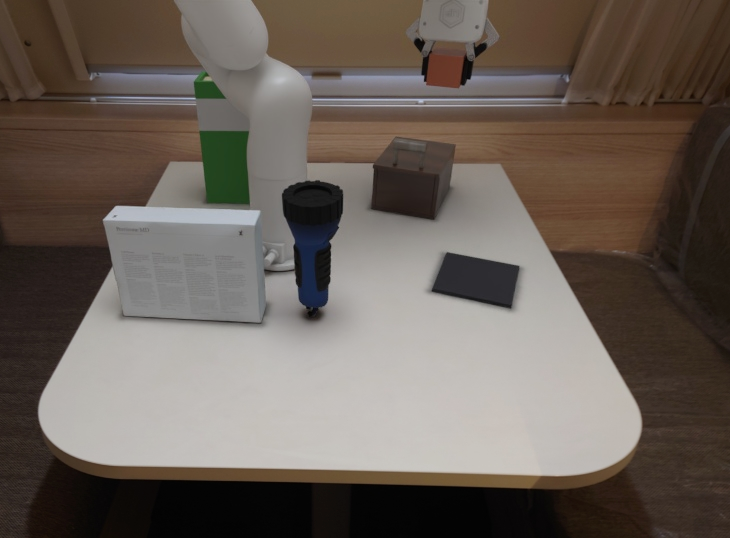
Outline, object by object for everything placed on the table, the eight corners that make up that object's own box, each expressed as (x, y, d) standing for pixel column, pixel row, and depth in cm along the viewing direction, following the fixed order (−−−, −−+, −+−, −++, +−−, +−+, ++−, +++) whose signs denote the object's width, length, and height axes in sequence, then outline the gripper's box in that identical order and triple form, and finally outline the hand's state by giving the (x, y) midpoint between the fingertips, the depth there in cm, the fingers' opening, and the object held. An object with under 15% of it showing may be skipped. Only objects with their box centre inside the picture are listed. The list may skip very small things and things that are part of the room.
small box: (458, 88, 96) (463, 56, 93) (425, 85, 97) (429, 54, 94) (463, 80, 100) (468, 50, 97) (431, 77, 102) (435, 47, 99)
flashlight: (285, 333, 82) (281, 206, 71) (285, 301, 89) (282, 180, 77) (341, 332, 82) (346, 205, 71) (337, 300, 89) (341, 179, 77)
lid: (439, 178, 105) (443, 148, 102) (372, 168, 109) (374, 139, 106) (455, 147, 117) (459, 120, 114) (395, 140, 121) (397, 113, 118)
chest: (434, 219, 110) (439, 176, 105) (371, 208, 114) (373, 167, 110) (449, 188, 122) (455, 148, 117) (391, 179, 126) (395, 140, 121)
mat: (510, 308, 87) (511, 305, 86) (431, 291, 91) (432, 288, 90) (518, 268, 96) (519, 265, 95) (446, 254, 100) (446, 251, 99)
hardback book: (296, 188, 123) (293, 71, 109) (293, 204, 116) (291, 82, 103) (213, 187, 123) (201, 71, 110) (207, 202, 117) (193, 81, 104)
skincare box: (267, 302, 88) (262, 209, 79) (261, 324, 84) (255, 227, 75) (134, 295, 90) (114, 203, 81) (121, 316, 86) (99, 221, 77)
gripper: (400, -40, 88) (390, 82, 98) (518, -36, 83) (494, 92, 93) (411, -44, 94) (400, 72, 104) (521, -40, 89) (499, 81, 99)
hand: (445, 80), depth 98 cm, fingers closed on small box, 5 cm apart
